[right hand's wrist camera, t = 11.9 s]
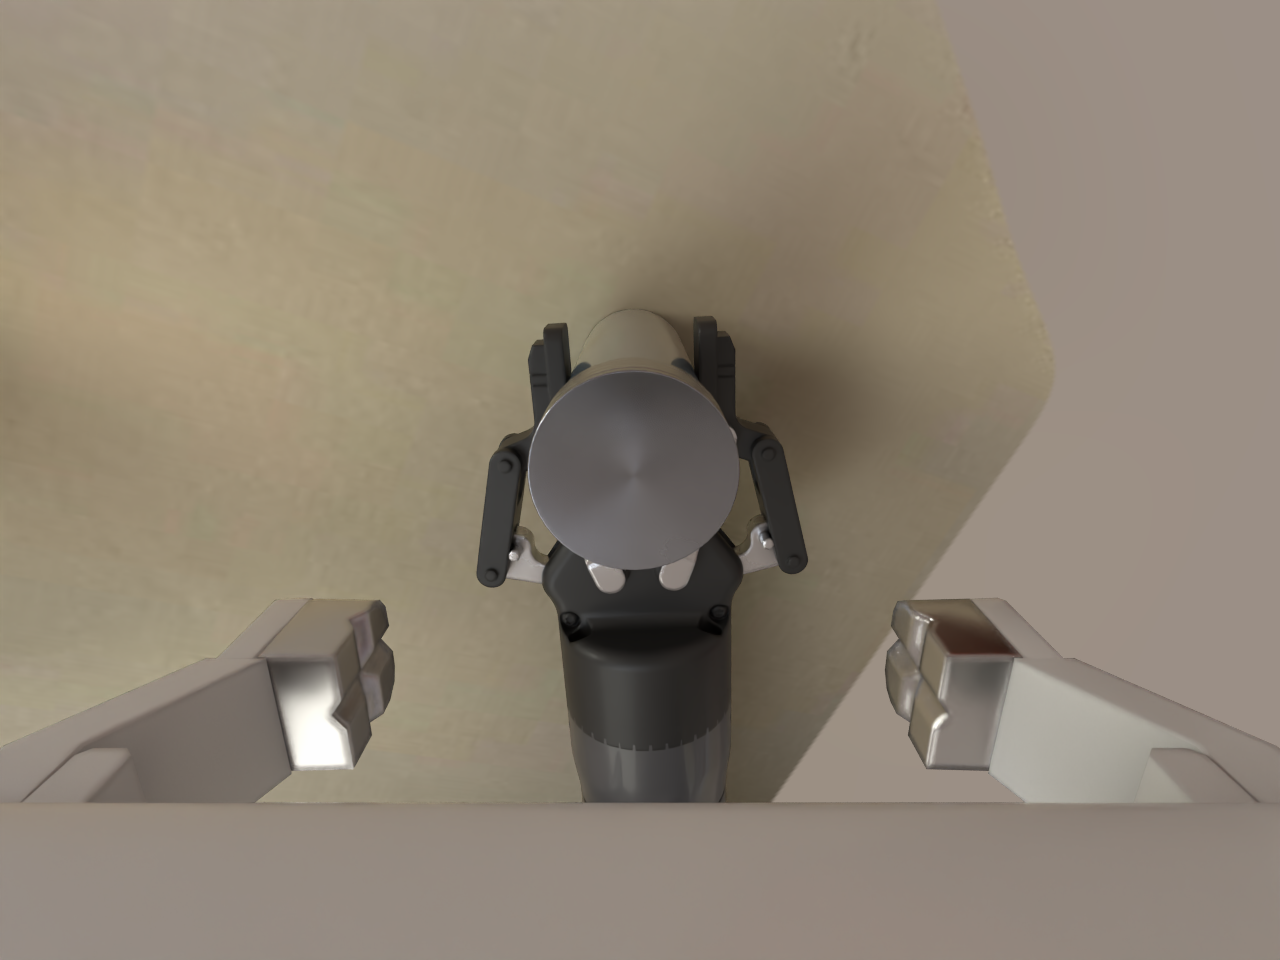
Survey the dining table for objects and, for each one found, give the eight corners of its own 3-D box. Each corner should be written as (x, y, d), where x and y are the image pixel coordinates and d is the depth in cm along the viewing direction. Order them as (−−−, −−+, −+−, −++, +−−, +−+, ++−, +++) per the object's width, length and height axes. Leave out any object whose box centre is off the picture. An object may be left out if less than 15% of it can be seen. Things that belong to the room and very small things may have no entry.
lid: (733, 355, 18) (744, 367, 16) (727, 539, 20) (736, 568, 18) (530, 358, 18) (519, 372, 16) (543, 542, 20) (535, 572, 18)
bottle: (685, 307, 32) (731, 374, 17) (684, 410, 33) (725, 553, 18) (579, 309, 32) (532, 377, 17) (584, 412, 33) (545, 557, 18)
